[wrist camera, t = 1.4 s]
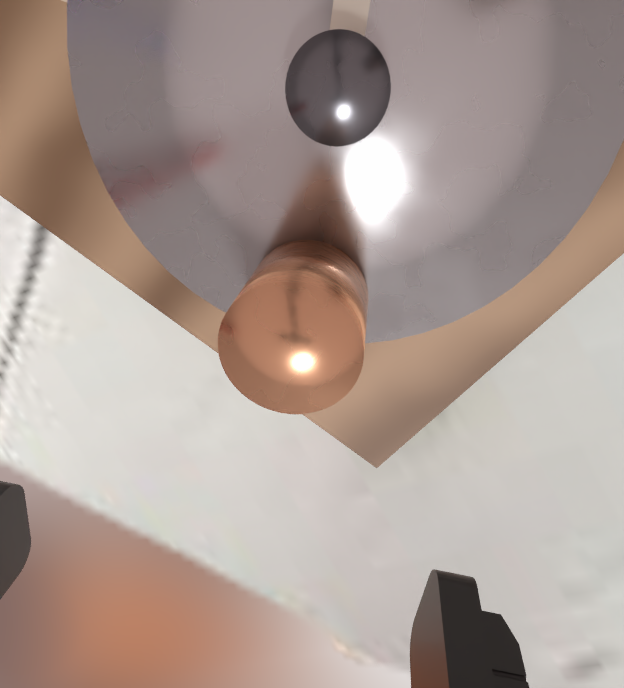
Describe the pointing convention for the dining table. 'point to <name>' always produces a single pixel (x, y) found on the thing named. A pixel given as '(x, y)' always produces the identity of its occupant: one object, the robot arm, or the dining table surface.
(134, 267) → the dial base
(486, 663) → the robot arm
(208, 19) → the dial
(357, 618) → the dining table surface
